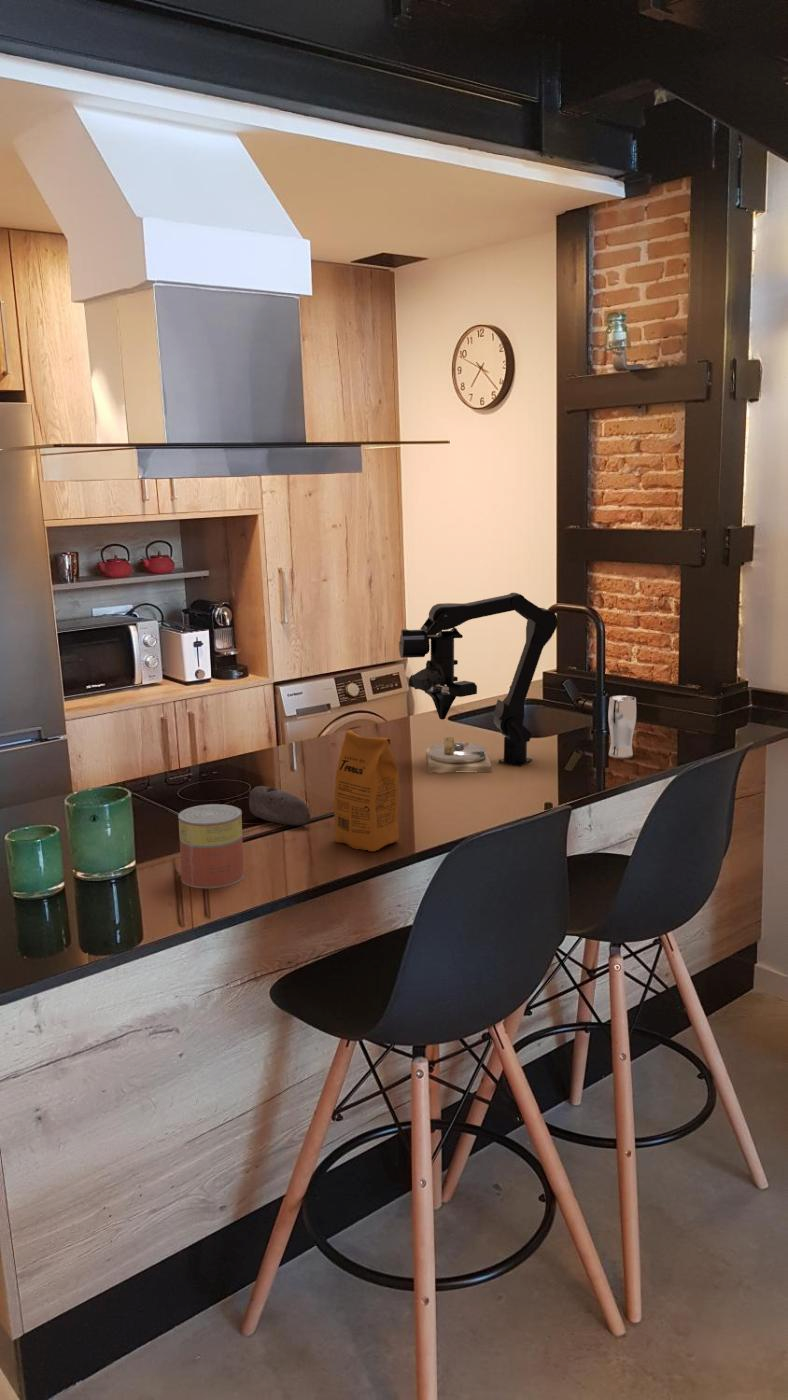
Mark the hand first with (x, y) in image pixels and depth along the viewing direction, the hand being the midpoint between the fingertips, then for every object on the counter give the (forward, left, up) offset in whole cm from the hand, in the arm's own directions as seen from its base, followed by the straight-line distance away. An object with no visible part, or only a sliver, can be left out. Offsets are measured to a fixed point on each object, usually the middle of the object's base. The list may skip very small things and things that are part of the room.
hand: (442, 719), depth 265 cm
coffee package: (+56, +16, -12) cm, 60 cm away
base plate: (-5, +2, -12) cm, 13 cm away
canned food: (+86, +3, -12) cm, 87 cm away
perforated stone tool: (+55, -6, -12) cm, 57 cm away
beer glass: (-33, +34, -12) cm, 49 cm away
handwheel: (-5, +2, -10) cm, 11 cm away
